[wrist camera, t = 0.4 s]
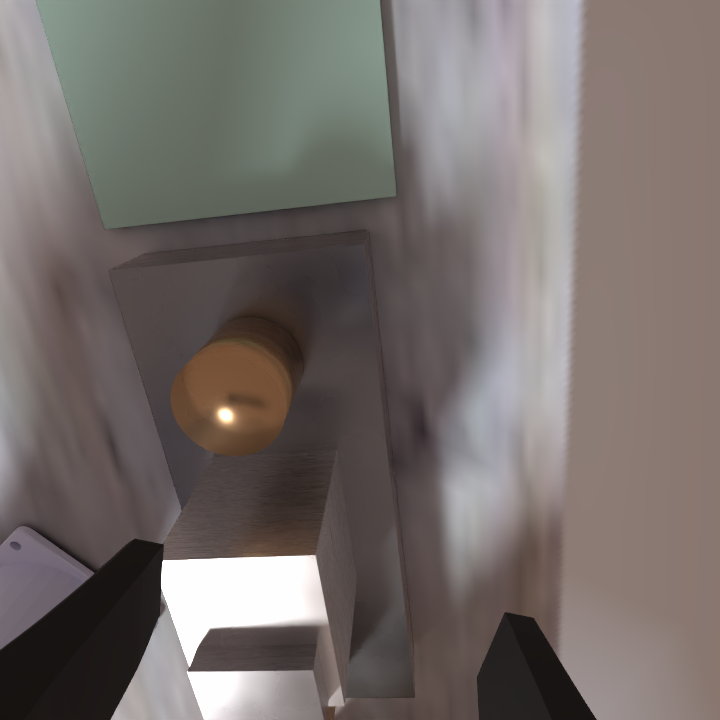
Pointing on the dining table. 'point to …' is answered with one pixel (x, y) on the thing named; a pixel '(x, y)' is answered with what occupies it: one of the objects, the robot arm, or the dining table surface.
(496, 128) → the dining table surface
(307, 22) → the mat
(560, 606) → the dining table surface
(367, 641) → the hand plane
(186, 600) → the lever cap
